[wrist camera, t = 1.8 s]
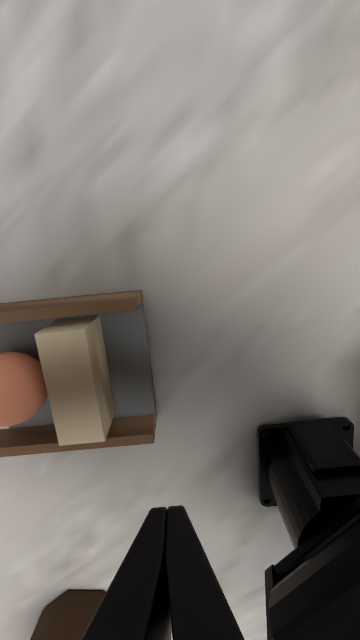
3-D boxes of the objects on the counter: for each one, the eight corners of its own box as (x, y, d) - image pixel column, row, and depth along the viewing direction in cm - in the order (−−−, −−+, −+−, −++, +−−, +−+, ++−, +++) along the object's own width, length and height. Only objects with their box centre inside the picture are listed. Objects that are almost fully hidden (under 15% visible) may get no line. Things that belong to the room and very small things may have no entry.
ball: (65, 399, 19) (37, 439, 15) (2, 404, 19) (-42, 446, 15) (53, 339, 18) (19, 365, 14) (-14, 345, 18) (-65, 373, 14)
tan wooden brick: (115, 411, 19) (104, 441, 16) (76, 415, 19) (59, 445, 16) (99, 315, 18) (84, 329, 15) (57, 319, 18) (34, 334, 15)
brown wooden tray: (156, 414, 20) (153, 448, 17) (-97, 437, 20) (-151, 476, 17) (141, 290, 18) (133, 300, 15) (-142, 316, 18) (-214, 333, 15)
